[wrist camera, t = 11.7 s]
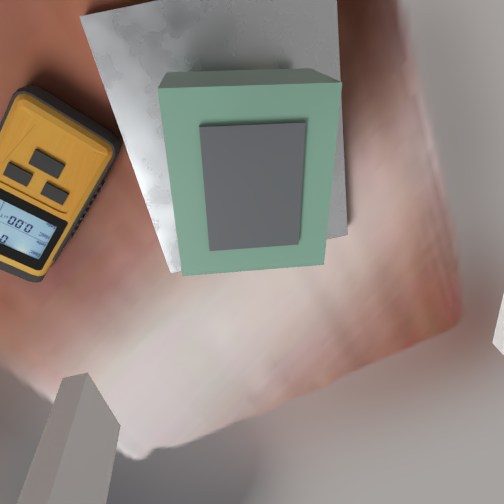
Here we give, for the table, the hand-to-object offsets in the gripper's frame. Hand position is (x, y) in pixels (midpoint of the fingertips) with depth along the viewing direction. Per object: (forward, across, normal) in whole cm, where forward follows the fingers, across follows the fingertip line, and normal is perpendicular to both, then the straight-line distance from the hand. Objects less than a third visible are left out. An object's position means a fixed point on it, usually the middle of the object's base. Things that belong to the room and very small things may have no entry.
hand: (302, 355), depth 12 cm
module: (+21, 0, 0) cm, 21 cm away
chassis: (+25, 0, 0) cm, 25 cm away
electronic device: (+26, -17, 0) cm, 31 cm away
